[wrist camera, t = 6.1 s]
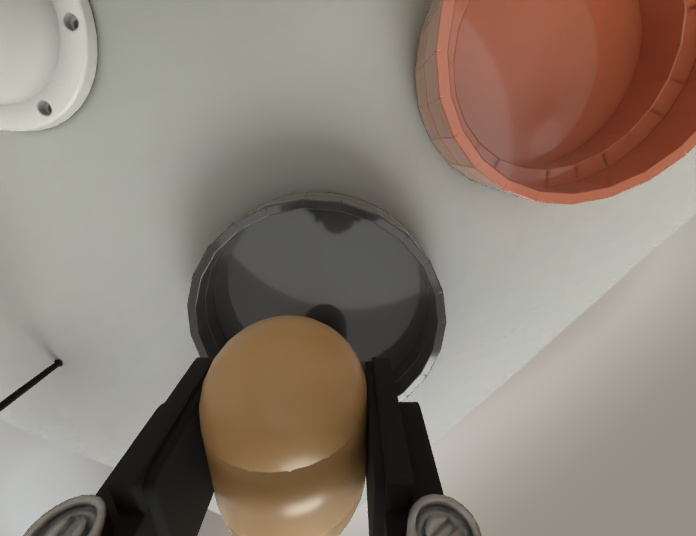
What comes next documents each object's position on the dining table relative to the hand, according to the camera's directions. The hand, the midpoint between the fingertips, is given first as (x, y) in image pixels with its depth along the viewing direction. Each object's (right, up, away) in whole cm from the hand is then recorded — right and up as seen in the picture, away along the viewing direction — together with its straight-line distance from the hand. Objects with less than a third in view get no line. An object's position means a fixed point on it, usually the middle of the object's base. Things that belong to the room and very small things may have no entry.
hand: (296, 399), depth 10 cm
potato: (0, 0, +1) cm, 1 cm away
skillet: (-1, +1, +17) cm, 17 cm away
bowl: (+13, +17, +11) cm, 24 cm away
